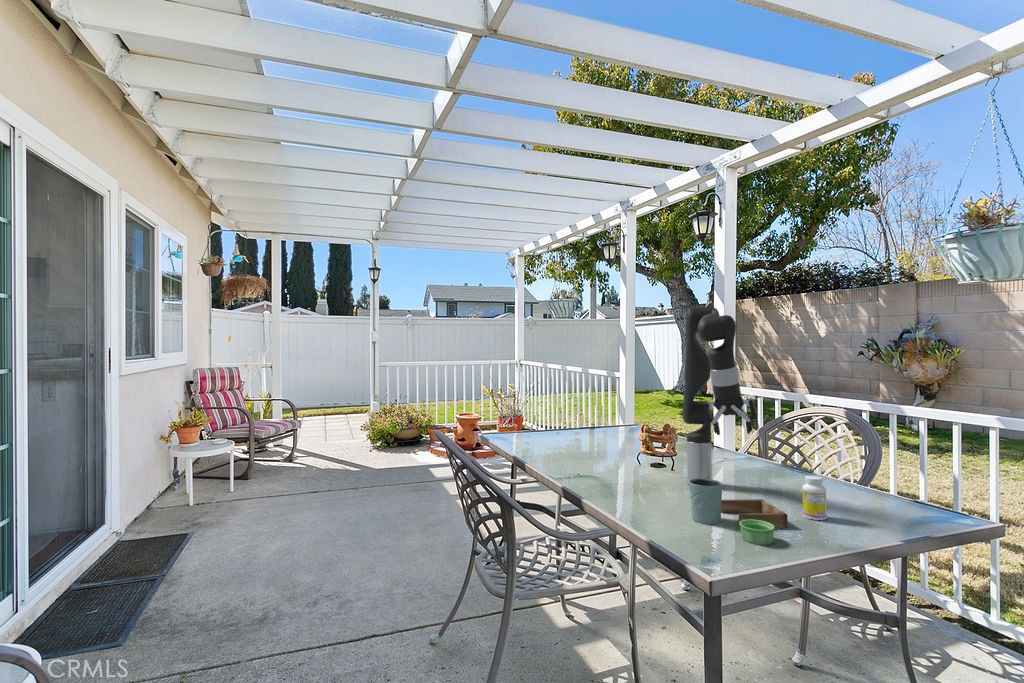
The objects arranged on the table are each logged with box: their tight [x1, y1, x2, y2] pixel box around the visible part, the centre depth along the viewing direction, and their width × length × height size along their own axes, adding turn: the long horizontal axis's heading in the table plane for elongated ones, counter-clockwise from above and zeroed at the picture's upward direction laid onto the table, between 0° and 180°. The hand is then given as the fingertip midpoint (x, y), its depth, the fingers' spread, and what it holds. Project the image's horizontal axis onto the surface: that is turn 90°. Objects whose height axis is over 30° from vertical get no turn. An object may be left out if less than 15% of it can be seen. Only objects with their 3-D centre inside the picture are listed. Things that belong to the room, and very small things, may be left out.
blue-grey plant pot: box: [688, 478, 723, 526], centre depth 161 cm, size 10×10×12 cm
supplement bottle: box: [801, 475, 828, 521], centre depth 162 cm, size 7×7×13 cm
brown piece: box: [721, 498, 789, 529], centre depth 161 cm, size 15×14×4 cm
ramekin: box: [738, 519, 775, 546], centre depth 144 cm, size 9×9×4 cm
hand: (733, 433), depth 155 cm, fingers open, 8 cm apart
